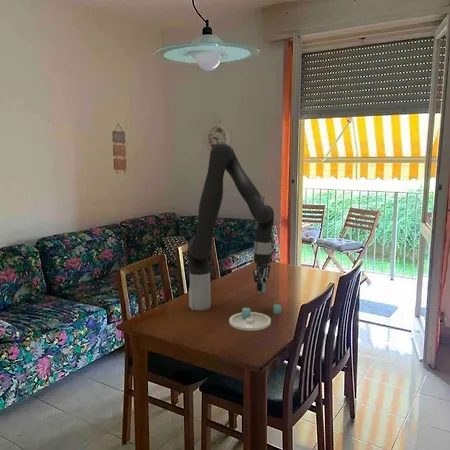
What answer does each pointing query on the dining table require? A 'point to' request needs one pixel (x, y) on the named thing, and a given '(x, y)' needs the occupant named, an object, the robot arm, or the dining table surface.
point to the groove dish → (250, 321)
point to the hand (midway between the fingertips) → (261, 289)
